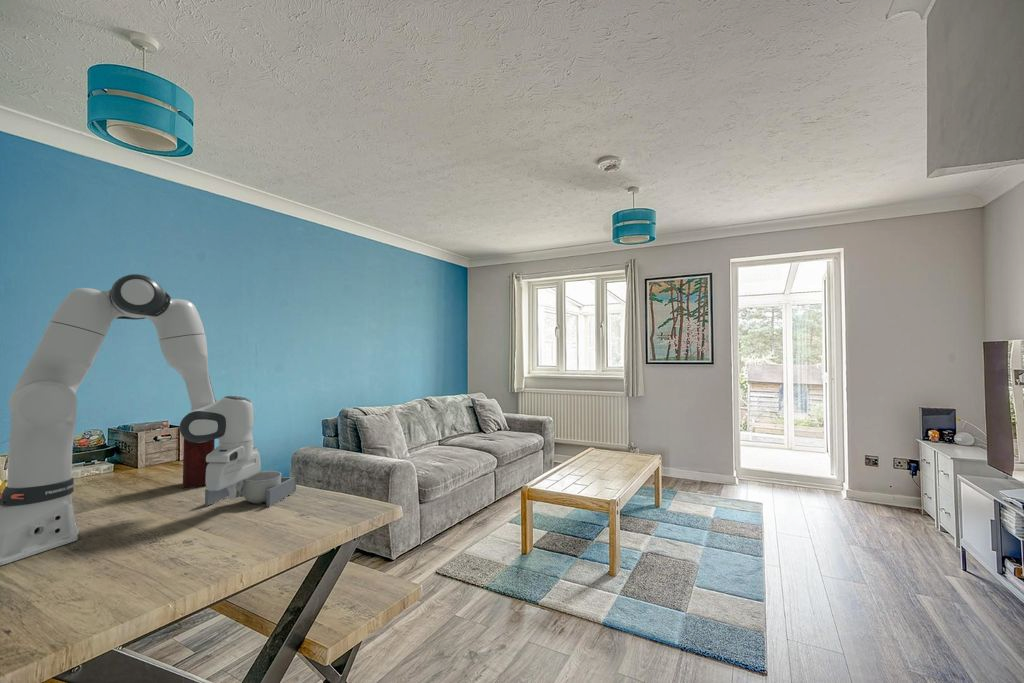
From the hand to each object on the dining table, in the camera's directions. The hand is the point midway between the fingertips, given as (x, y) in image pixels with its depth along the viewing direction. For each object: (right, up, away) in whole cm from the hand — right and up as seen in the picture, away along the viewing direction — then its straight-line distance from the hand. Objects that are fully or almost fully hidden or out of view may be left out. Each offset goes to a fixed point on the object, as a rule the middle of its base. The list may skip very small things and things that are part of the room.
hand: (234, 497), depth 137 cm
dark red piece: (-30, -4, +27) cm, 40 cm away
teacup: (+3, -4, +7) cm, 8 cm away
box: (+1, -3, +8) cm, 9 cm away
